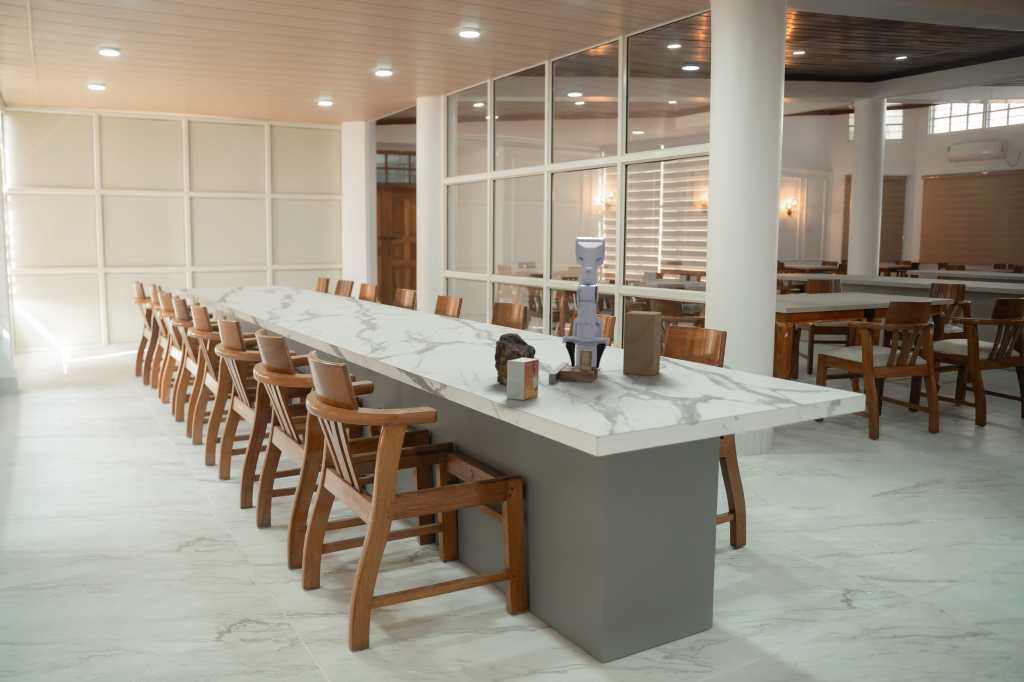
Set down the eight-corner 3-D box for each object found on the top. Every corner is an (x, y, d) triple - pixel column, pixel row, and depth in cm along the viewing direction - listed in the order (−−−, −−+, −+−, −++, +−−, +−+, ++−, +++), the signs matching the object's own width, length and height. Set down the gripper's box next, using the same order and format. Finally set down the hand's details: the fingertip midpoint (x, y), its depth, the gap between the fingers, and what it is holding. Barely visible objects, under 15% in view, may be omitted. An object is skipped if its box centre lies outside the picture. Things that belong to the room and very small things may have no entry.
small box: (523, 400, 229) (524, 362, 228) (506, 398, 232) (506, 360, 231) (538, 396, 236) (539, 358, 235) (521, 394, 239) (522, 357, 238)
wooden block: (622, 374, 277) (624, 312, 275) (630, 369, 287) (632, 310, 284) (652, 376, 274) (655, 314, 271) (659, 372, 283) (662, 312, 281)
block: (566, 374, 274) (567, 365, 273) (597, 376, 271) (598, 366, 271) (560, 380, 262) (560, 370, 262) (592, 382, 260) (592, 372, 260)
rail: (562, 371, 280) (562, 362, 280) (568, 371, 280) (568, 362, 279) (548, 383, 257) (549, 373, 257) (555, 383, 256) (555, 374, 256)
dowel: (580, 377, 269) (581, 349, 267) (591, 378, 268) (592, 350, 267) (578, 379, 265) (579, 350, 264) (590, 380, 264) (590, 351, 263)
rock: (513, 393, 249) (478, 377, 259) (542, 388, 258) (507, 373, 268) (521, 346, 246) (485, 332, 255) (550, 343, 255) (514, 329, 265)
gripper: (561, 323, 262) (560, 367, 264) (608, 325, 259) (607, 370, 260) (565, 321, 269) (564, 364, 271) (611, 323, 266) (609, 366, 267)
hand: (585, 366), depth 266 cm, fingers open, 7 cm apart
